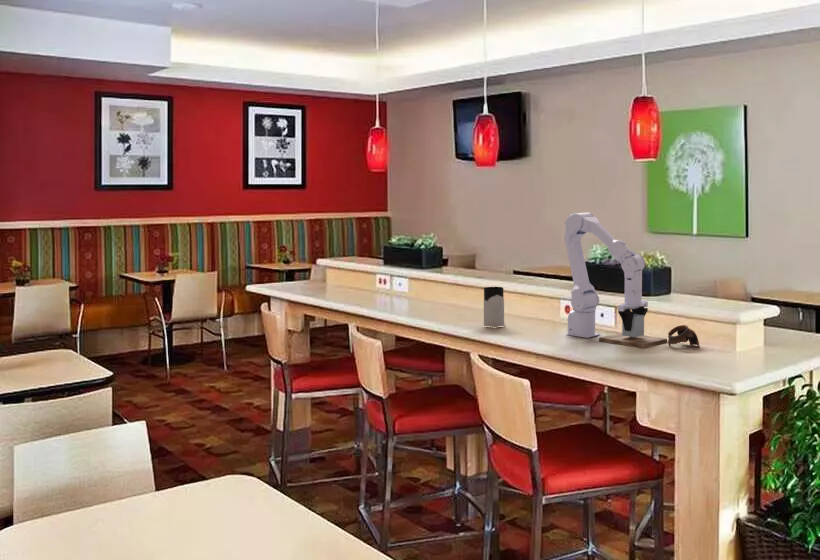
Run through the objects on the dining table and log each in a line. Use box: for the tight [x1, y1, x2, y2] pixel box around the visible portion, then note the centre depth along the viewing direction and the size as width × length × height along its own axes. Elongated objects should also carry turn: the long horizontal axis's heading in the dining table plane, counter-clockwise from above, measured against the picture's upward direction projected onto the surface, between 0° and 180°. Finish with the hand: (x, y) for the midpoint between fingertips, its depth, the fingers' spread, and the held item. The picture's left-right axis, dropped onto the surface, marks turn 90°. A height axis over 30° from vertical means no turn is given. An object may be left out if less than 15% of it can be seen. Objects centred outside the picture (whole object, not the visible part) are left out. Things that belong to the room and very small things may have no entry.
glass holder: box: [482, 286, 506, 327], centre depth 336 cm, size 9×14×15 cm, turn 14°
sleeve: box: [621, 314, 645, 337], centre depth 297 cm, size 5×5×7 cm
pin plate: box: [598, 332, 668, 349], centre depth 297 cm, size 18×14×5 cm
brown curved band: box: [667, 324, 700, 349], centre depth 288 cm, size 12×10×8 cm
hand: (632, 329), depth 297 cm, fingers closed on sleeve, 5 cm apart
